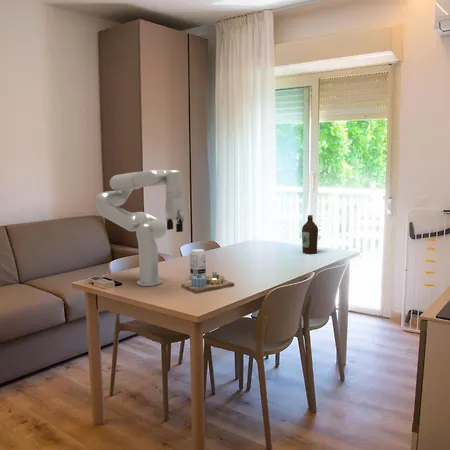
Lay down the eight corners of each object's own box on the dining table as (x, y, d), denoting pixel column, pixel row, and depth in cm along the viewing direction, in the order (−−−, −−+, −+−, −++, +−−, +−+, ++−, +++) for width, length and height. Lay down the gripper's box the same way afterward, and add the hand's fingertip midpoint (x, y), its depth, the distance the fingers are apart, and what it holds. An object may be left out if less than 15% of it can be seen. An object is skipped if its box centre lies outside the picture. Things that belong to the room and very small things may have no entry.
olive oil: (310, 250, 330) (310, 214, 326) (321, 253, 321) (321, 215, 317) (298, 252, 324) (298, 215, 321) (309, 255, 315) (309, 216, 312)
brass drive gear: (201, 281, 245) (201, 272, 244) (217, 279, 251) (217, 269, 250) (211, 286, 237) (211, 276, 236) (228, 282, 242) (228, 273, 242)
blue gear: (188, 284, 240) (188, 276, 239) (201, 282, 244) (201, 274, 243) (196, 288, 234) (196, 279, 233) (209, 285, 238) (209, 277, 237)
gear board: (181, 287, 242) (181, 274, 241) (218, 280, 254) (218, 268, 253) (195, 293, 230) (195, 280, 229) (234, 286, 242) (234, 273, 241)
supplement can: (190, 276, 263) (189, 248, 261) (205, 275, 264) (205, 248, 262) (190, 280, 255) (189, 251, 253) (206, 279, 256) (205, 251, 253)
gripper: (158, 195, 241) (160, 229, 243) (175, 197, 227) (176, 233, 229) (172, 194, 245) (173, 227, 247) (189, 196, 231) (190, 232, 233)
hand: (174, 230), depth 238 cm, fingers open, 9 cm apart
